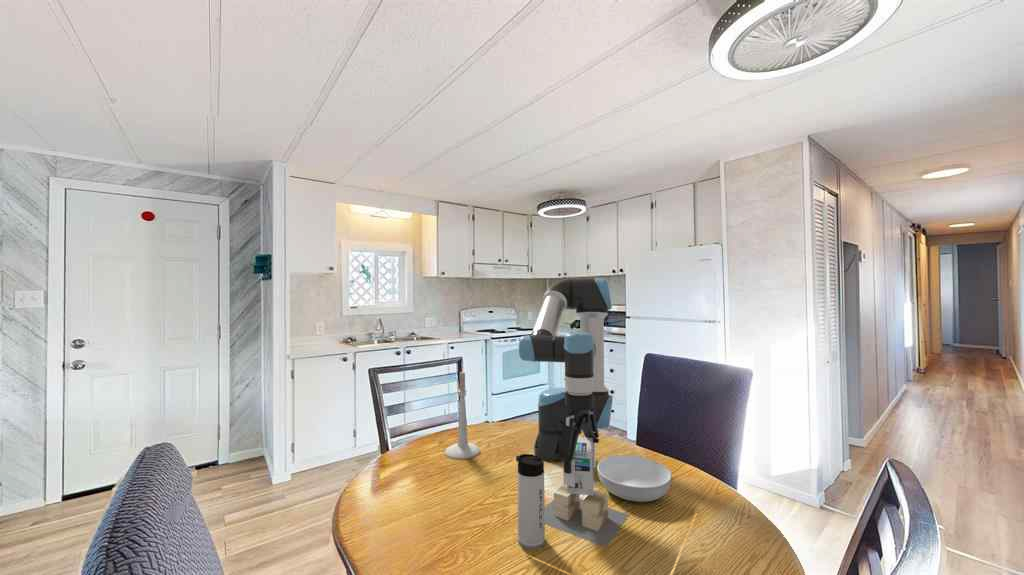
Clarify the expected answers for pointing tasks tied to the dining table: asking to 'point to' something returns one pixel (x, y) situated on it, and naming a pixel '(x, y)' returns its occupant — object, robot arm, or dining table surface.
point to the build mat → (577, 529)
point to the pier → (595, 510)
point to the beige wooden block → (565, 503)
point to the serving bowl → (634, 477)
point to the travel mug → (531, 501)
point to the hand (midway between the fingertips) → (580, 475)
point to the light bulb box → (583, 467)
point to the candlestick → (462, 431)
